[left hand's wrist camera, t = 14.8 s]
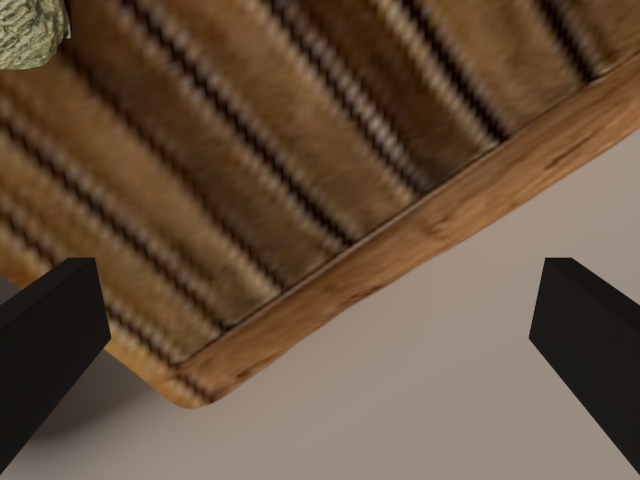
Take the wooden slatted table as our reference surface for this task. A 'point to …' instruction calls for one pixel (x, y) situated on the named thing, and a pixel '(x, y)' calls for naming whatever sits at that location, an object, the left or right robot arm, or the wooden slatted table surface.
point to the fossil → (31, 32)
